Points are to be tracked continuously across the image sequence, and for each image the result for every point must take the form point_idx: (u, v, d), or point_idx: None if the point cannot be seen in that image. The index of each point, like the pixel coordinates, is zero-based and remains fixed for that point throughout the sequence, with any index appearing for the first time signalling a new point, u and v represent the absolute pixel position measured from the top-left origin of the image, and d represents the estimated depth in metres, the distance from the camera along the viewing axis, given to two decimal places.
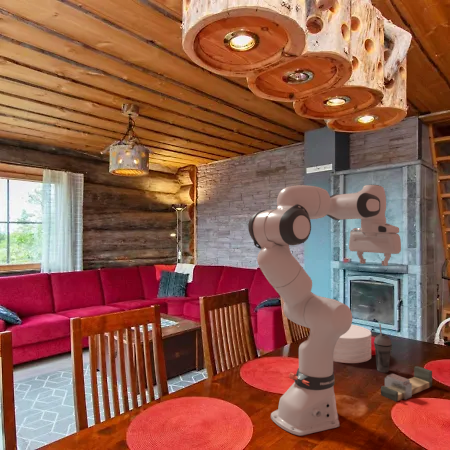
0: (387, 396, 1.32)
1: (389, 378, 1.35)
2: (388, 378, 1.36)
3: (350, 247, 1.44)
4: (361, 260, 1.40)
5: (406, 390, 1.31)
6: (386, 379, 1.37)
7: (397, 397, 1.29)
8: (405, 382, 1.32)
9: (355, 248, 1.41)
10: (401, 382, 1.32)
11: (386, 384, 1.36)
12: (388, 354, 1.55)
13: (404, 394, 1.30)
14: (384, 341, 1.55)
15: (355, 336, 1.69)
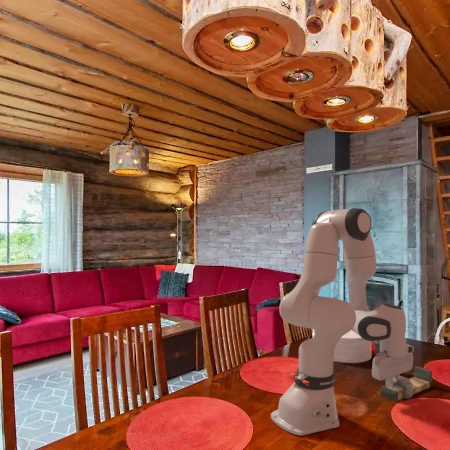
0: (387, 396, 1.32)
1: None
2: None
3: (382, 376, 1.27)
4: (394, 384, 1.32)
5: (407, 390, 1.31)
6: (386, 379, 1.37)
7: (397, 397, 1.29)
8: (406, 382, 1.32)
9: (386, 375, 1.28)
10: (402, 382, 1.32)
11: (387, 383, 1.37)
12: None
13: (405, 394, 1.31)
14: None
15: (355, 336, 1.70)
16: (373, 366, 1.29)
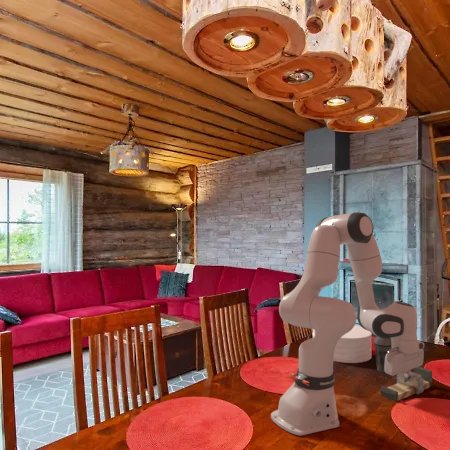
0: (387, 396, 1.32)
1: None
2: None
3: (394, 372, 1.31)
4: (405, 379, 1.36)
5: (418, 385, 1.35)
6: (398, 375, 1.41)
7: (397, 397, 1.29)
8: (417, 377, 1.36)
9: (398, 371, 1.32)
10: (413, 377, 1.36)
11: (398, 379, 1.41)
12: None
13: (416, 389, 1.35)
14: (384, 341, 1.55)
15: (355, 336, 1.70)
16: (385, 362, 1.33)
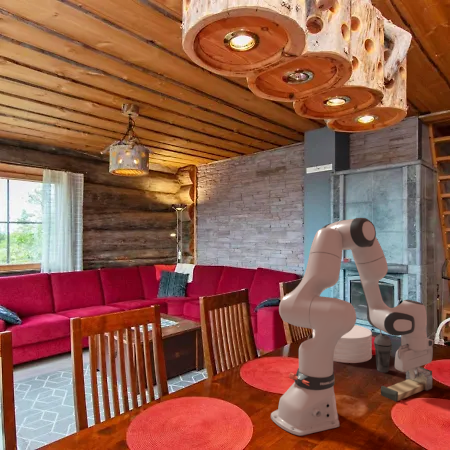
0: (387, 396, 1.32)
1: None
2: None
3: (404, 368, 1.34)
4: (415, 375, 1.40)
5: (427, 381, 1.38)
6: (407, 371, 1.44)
7: (397, 397, 1.29)
8: (426, 374, 1.39)
9: (408, 367, 1.35)
10: (422, 374, 1.39)
11: (407, 376, 1.44)
12: (388, 354, 1.55)
13: (425, 385, 1.38)
14: (384, 341, 1.55)
15: (356, 336, 1.70)
16: (396, 358, 1.36)
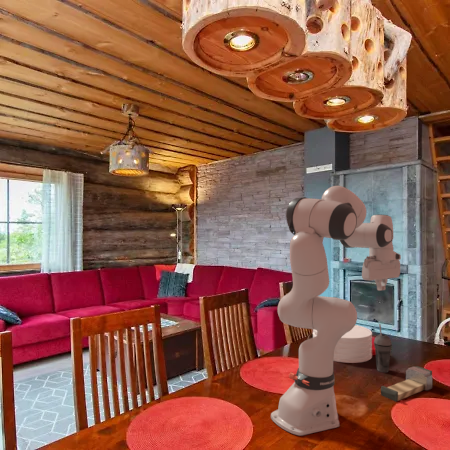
0: (387, 396, 1.32)
1: (410, 370, 1.43)
2: (409, 370, 1.43)
3: (371, 276, 1.38)
4: (382, 287, 1.43)
5: (427, 381, 1.38)
6: (407, 371, 1.44)
7: (397, 397, 1.29)
8: (426, 374, 1.39)
9: (375, 276, 1.39)
10: (422, 374, 1.39)
11: (407, 376, 1.44)
12: (388, 354, 1.55)
13: (425, 385, 1.38)
14: (384, 341, 1.55)
15: (356, 336, 1.70)
16: (363, 268, 1.40)
